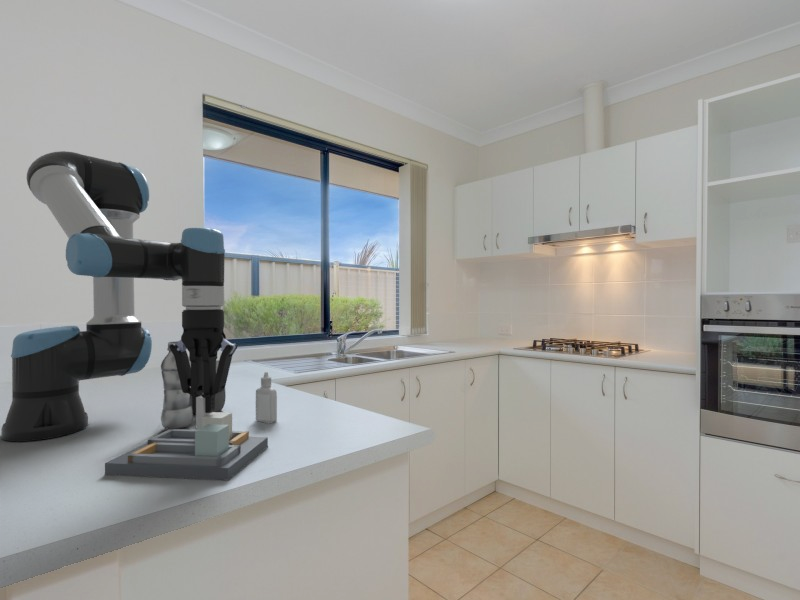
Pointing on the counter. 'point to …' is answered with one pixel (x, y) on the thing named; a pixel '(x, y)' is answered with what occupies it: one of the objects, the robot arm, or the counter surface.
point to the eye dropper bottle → (266, 401)
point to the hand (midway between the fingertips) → (203, 429)
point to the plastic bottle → (174, 396)
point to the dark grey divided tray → (186, 457)
